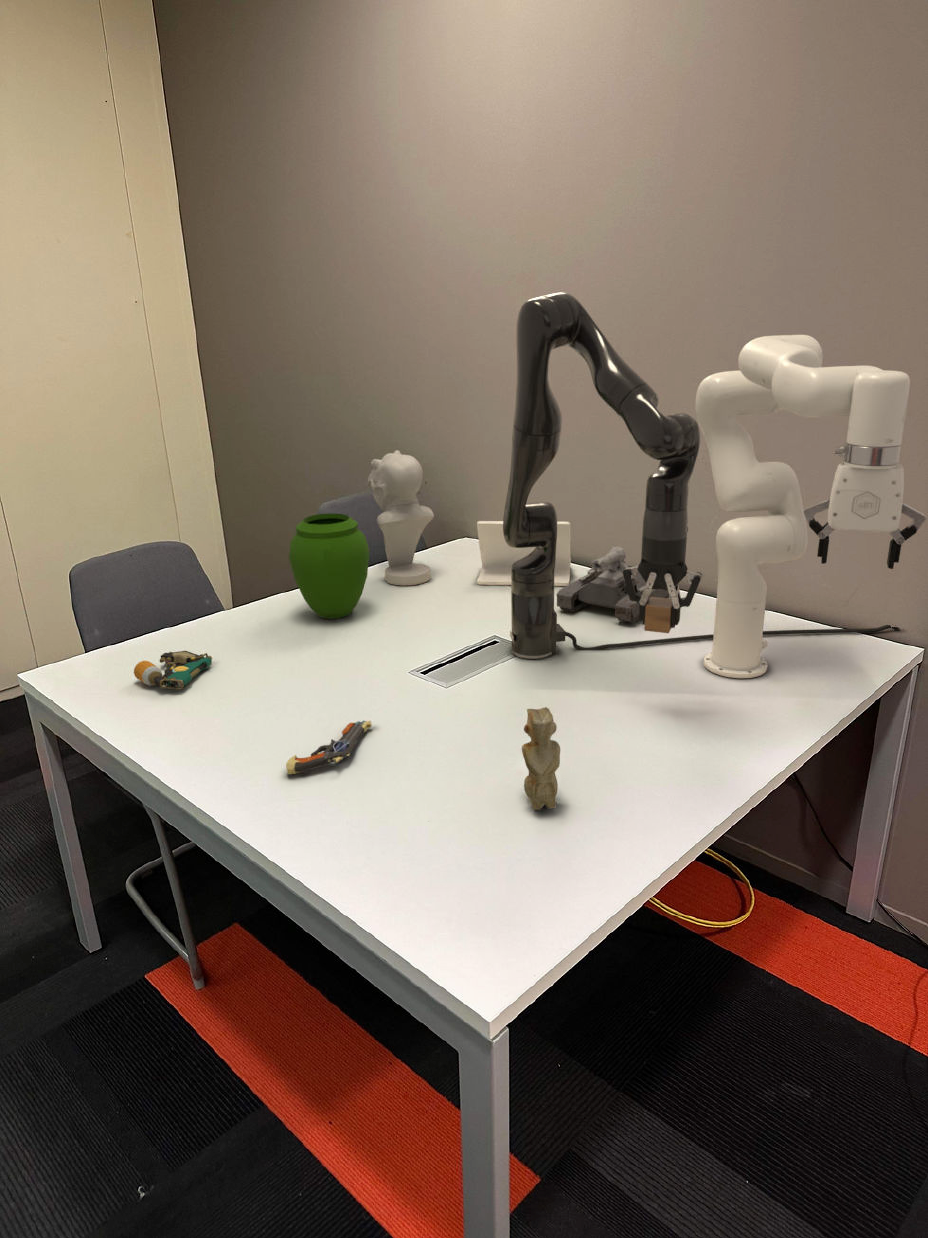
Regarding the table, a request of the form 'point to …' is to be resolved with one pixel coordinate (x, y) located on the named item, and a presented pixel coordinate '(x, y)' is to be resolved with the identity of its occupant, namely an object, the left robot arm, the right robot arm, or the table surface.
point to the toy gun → (330, 749)
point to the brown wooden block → (658, 615)
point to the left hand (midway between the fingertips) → (659, 624)
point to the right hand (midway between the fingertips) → (856, 563)
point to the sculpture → (541, 759)
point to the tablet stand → (517, 554)
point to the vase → (329, 563)
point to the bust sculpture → (400, 515)
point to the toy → (606, 588)
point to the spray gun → (172, 669)
